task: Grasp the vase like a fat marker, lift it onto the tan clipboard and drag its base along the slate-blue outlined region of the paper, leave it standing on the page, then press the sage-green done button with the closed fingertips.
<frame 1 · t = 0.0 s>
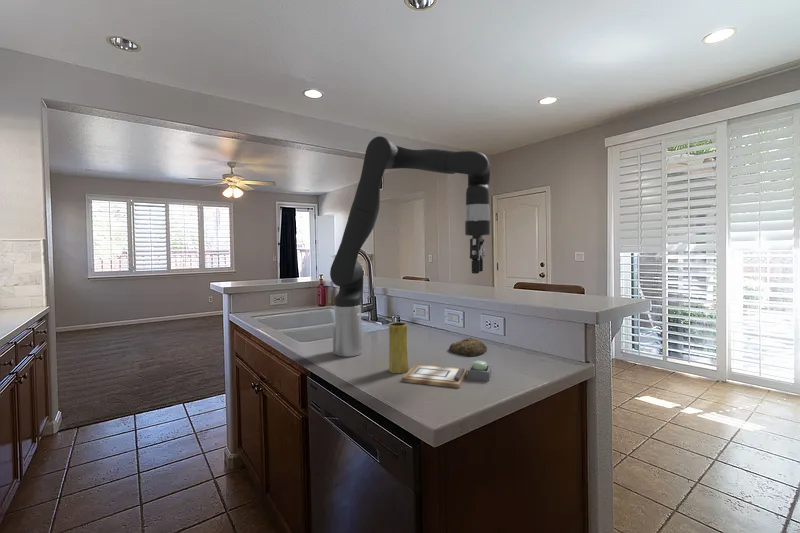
hand: (477, 272, 116), 29 cm above the worktop, fingers open, 8 cm apart
clipboard: (435, 376, 108), on the worktop
done button: (479, 366, 108), point 3 cm above the worktop, slide at 0.0 cm
vase: (398, 371, 114), on the worktop
bread roll: (469, 352, 135), on the worktop
button housing: (479, 376, 108), on the worktop
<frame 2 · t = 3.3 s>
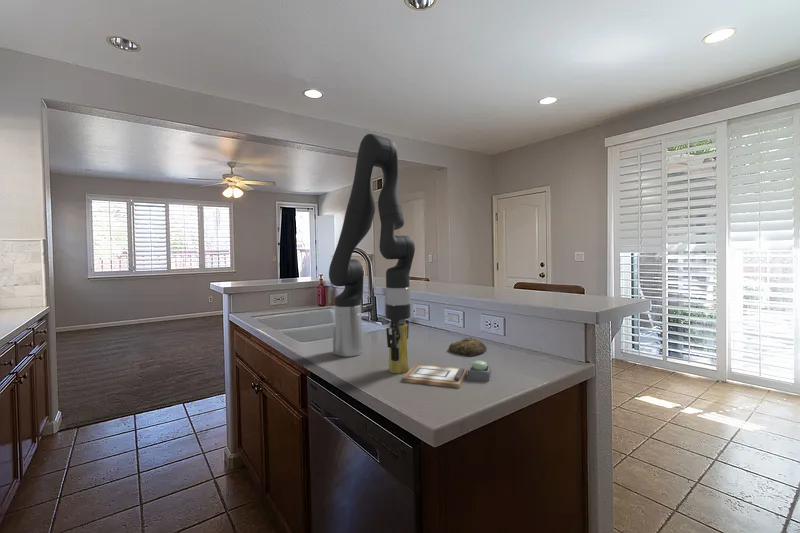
hand: (398, 357, 114), 4 cm above the worktop, fingers closed on vase, 5 cm apart
vase: (398, 371, 114), on the worktop, touching gripper
everything else where it was.
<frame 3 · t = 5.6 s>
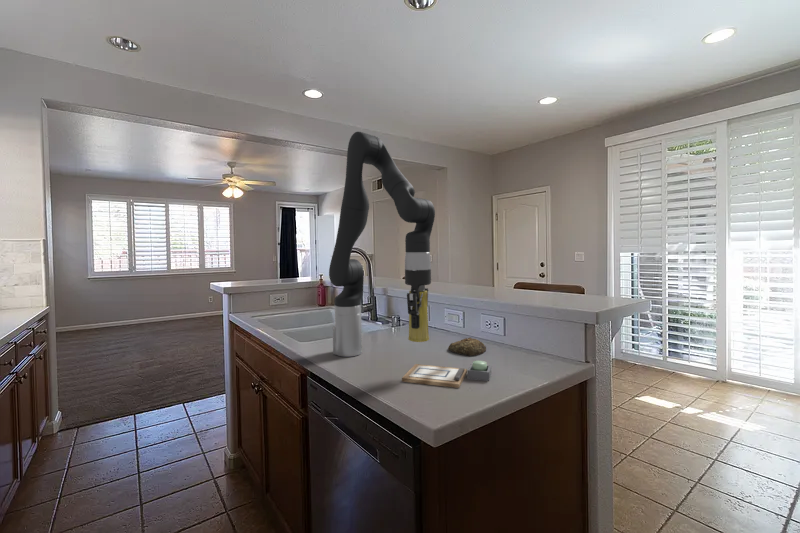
hand: (418, 325, 109), 14 cm above the worktop, fingers closed on vase, 5 cm apart
vase: (418, 340, 109), point 10 cm above the worktop, touching gripper
everything else where it was.
when the fingers open (5 cm above the worktop, at t = 8.2 s): vase stays where it is, resting on clipboard.
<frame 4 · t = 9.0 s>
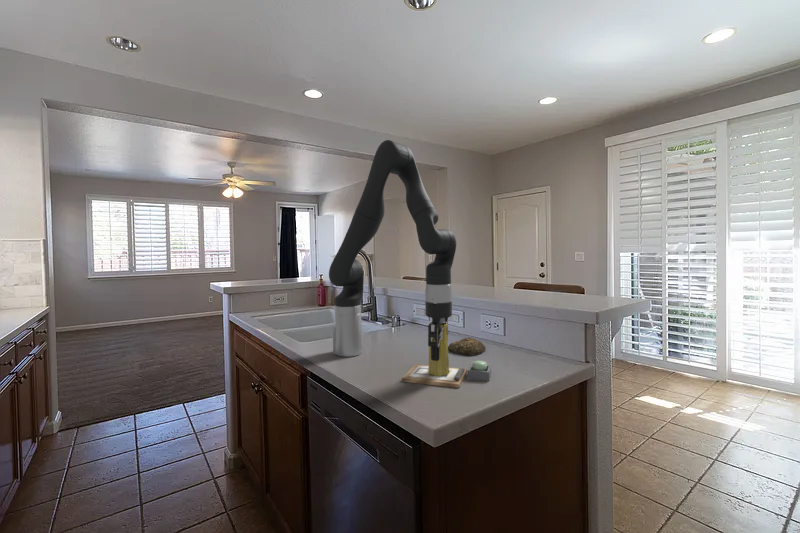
hand: (438, 356, 107), 6 cm above the worktop, fingers open, 8 cm apart
vase: (438, 373, 108), point 1 cm above the worktop, touching clipboard
everything else where it was.
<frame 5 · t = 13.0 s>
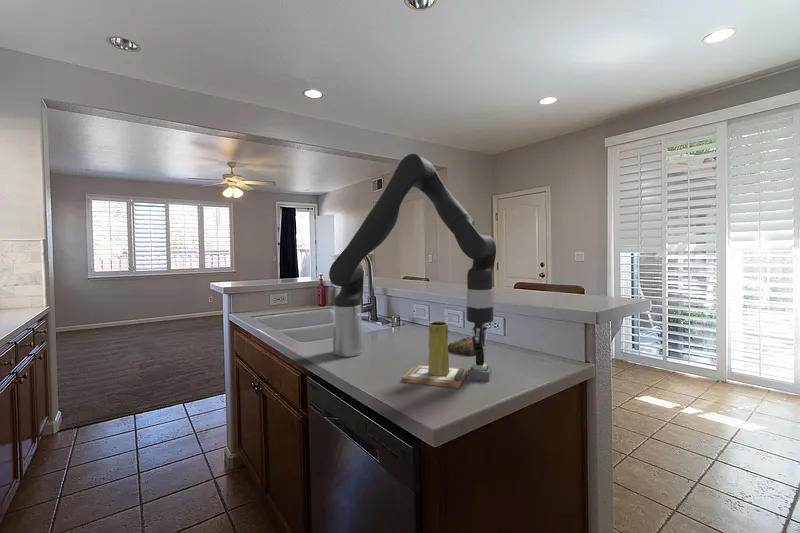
hand: (480, 364, 108), 4 cm above the worktop, fingers closed
done button: (479, 368, 108), point 2 cm above the worktop, slide at 0.5 cm, touching gripper
everything else where it was.
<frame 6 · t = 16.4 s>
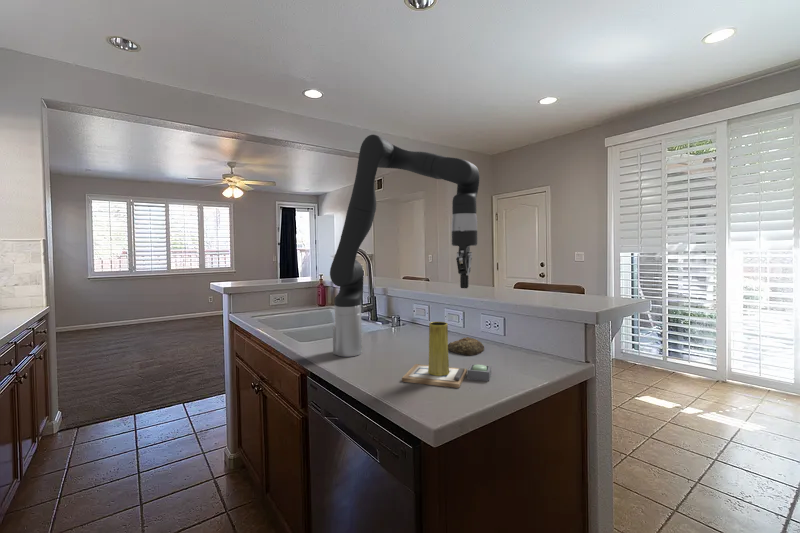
hand: (464, 287, 112), 25 cm above the worktop, fingers closed
done button: (479, 370, 108), point 2 cm above the worktop, slide at 1.2 cm
at the end: done button slide at 1.2 cm; vase inside the target area (0.9 cm from its centre), point 1.1 cm above the worktop; vase tilted 0° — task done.
